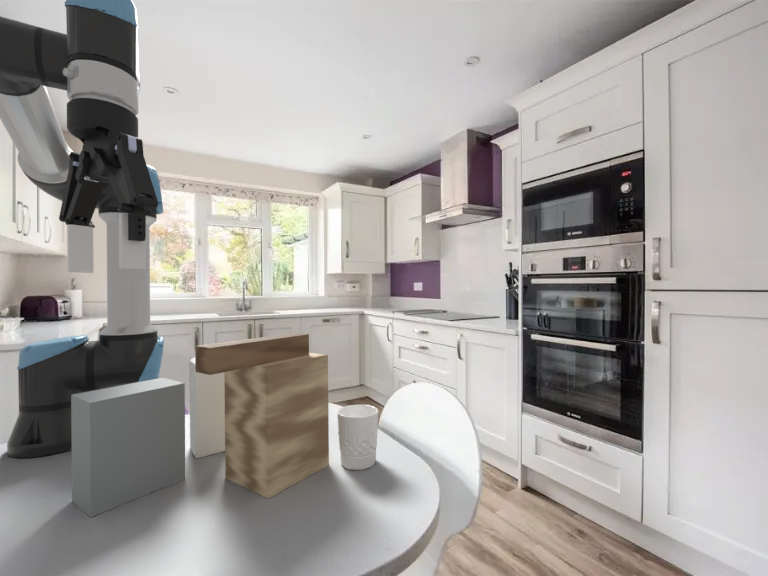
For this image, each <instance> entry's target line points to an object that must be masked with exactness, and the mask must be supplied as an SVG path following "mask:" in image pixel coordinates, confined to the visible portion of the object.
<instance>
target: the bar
mask: <svg viewBox="0 0 768 576" xmlns="http://www.w3.org/2000/svg"><path fill="white" fill-rule="evenodd" d="M194 349H195V350H194V351H195V353H194V355H195V356H194V357H195V369H196V372H198V373H203V374H207V375H213V374H218V373H223V372H228V371H233V370H237V369H242V368H247V367H252V366H257V365H262V364H267V363H272V362H277V361H282V360H287V359H292V358H297V357H302V356H307V355H309V353H310V334H309V333H299V332H298V333H297V332H293V333H292V332H291V333H284V334H276V335H275V334H274V335H269V336H263V337H255V338H246V339H245V338H244V339H239V340H237V339H236V340H231V341H224V342H216V343H215V342H214V343H207V344H206V345H205V344H201V345H200V344H199V345H195V347H194Z"/></svg>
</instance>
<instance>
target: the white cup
mask: <svg viewBox="0 0 768 576" xmlns="http://www.w3.org/2000/svg"><path fill="white" fill-rule="evenodd" d="M336 412H337V424H338V425H337V428H338V429H337V431H338V444H339V451H340V463H341V466H342V467H344V468H345V469H348V470H352V471H353V470H354V471H362V470H366V469H370V468H371V467H373V466H374V465H375V463H376V462H377V446H378V429H379V428H378V426H379V409H378V408H377V407H376V406H373V405H369V404H350V405H345V406H342V407H340V408H338V410H337V411H336Z"/></svg>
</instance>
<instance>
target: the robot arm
mask: <svg viewBox="0 0 768 576" xmlns="http://www.w3.org/2000/svg"><path fill="white" fill-rule="evenodd" d="M64 7H65V15H66V16H65V19H66V21H65V22H66V33H64V32H58V31H55V30H52V29H47V28H44V27H40V26H37V25H32V24H29V23H27V22H26V23H25V22H21V21H18V20H15V19H12V18H8V17H4V16H1V15H0V121H1V123H2V124H3V127H4V128H5V130H6V131H7V134H8V136H10V139H11V141H12V142H13V144H14V146H15V147H16V149H17V152H18V153H17V163H18V165H19V167H20V168H21V170H22V173H23V174H24V175H25V176H26V177H27V178H28V179H29V181H30V182H31V183H32V184H34V185H35V186H36V187H37V188H39V189H40V190H42V191H43V192H44V193H46V194H47V195H49V196H51V197H53V198H55V199H57V200H59V201H61V202H62V203H61V207H60V212H59V215H58V219H59V221H60V222H62V223H65V225H66V226H67V273H89V274H92V273H94V228H95V227H96V226H95V224H94V223H93V221H92V219H93V216H94V214H95V210H97V209H98V217H99V218H100V219H101V220H102V221H103V222H104V223H105V224H106V301H107V302H106V306H107V307H106V309H107V310H106V313H107V314H106V315H107V316H106V317H107V318H106V319H107V320H106V321H107V324H106V326H105V327H104V328H103V329H102V330H101V331H100V332H99V337H98V338H99V340H90V339H89V337H88V335H86V334H80V335H72V336H64V337H58V338H54V339H53V338H51V339H47V340H41V341H36V342H33V343H30V344H27V345H24V347H22V348H21V349H20V351H19V353H18V355H19V356H18V365H17V366H16V370H17V371H18V372H17V374H18V376H17V377H18V378H17V379H18V380H17V381H18V383H17V384H18V416H17V419H16V421H15V423H14V425H13V428H12V431H11V433H10V436H9V438H8V440H7V444H6V446H7V449H6V452H7V453H6V454H7V456H8V457H11V458H19V459H27V458H28V459H29V458H36V457H37V458H38V457H44V456H49V455H54V454H59V453H64V452H67V451H70V450H71V451H72V427H71V395H73V394H78V393H83V392H89V391H94V390H99V389H105V388H110V387H115V386H121V385H126V384H131V383H137V382H142V381H147V380H153V379H158V378H160V372H161V367H162V360H163V352H164V344H165V338H164V337H163V336H161V335H158V328H156V327H155V326H154V325H152V323H151V275H150V274H151V269H150V268H151V265H150V263H151V262H150V261H151V260H150V259H151V258H150V257H151V255H150V253H151V252H150V251H151V249H150V244H151V243H150V235H151V234H150V228H151V226H152V225H154V224H155V222H156V223H157V220H158V219H157V215H162V214H163V213H164V206H163V197H162V190H161V184H160V180H159V179H160V178H159V174H158V171H157V170H156V168H155V167H153V166H151V165H149V164H147V163H146V160H145V156H144V143H143V140H142V139H141V138H139V118H138V117H137V116H138V114H139V94H140V91H141V77H140V71H139V70H140V69H139V59H140V58H139V44H138V43H139V42H138V41H139V40H138V33H139V32H138V31H139V24H138V13H137V11H138V10H137V7H136V5H135V3H134V1H133V0H65V1H64ZM48 88H53V89H58V90H62V91H66V92H67V93H66V97H67V98H68V100H69V101H68V102H66V128H67V131H68V132H69V133H70V134H71V135H72V136H73V137H75V138H76V139H78V140H80V142H81V143H82V148H81V151H80V152H79V153H77V152H75V151H73V149H71V148H70V147H69V146H68V144H67V142H66V139H65V136H64V133H63V130H62V128H61V124H60V122H59V120H58V119H59V118H58V116H57V113H56V111H55V108H54V105H53V102H52V100H51V97H50V94H49V91H48Z"/></svg>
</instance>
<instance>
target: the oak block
mask: <svg viewBox="0 0 768 576" xmlns="http://www.w3.org/2000/svg"><path fill="white" fill-rule="evenodd" d="M224 377H225V451H224V454H225V455H224V461H225V462H224V469H225V471H224V476H225V479H226V480H229V481H231V482H234V483H235V484H237V485H239V486H242V487H244V488H245V489H248V490H250V491H251V492H255V493H257V494H259V495H261V496H262V497H264V498H266V499H271V498H272V497H275V496H276V495H278V494H279V493H281V492H284V491H285V490H288V488H290V487H292V486H293V485H295V484H297V483H299V482H301V481H303V480H305V479H307V478H308V477H310V476H312V475H314V474H315V473H317V472H319V471H320V470H322V469H324V468H325V467H328V466H329V465H330V451H329V448H330V446H329V445H330V443H329V442H330V440H329V439H330V437H329V433H330V432H329V430H330V428H329V425H330V424H329V355H328V354H324V353H323V354H322V353H315V352H309V355H307V356H302V357H297V358H292V359H287V360H282V361H277V362H272V363H267V364H262V365H257V366H252V367H247V368H242V369H237V370H233V371H228V372H224Z"/></svg>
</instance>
